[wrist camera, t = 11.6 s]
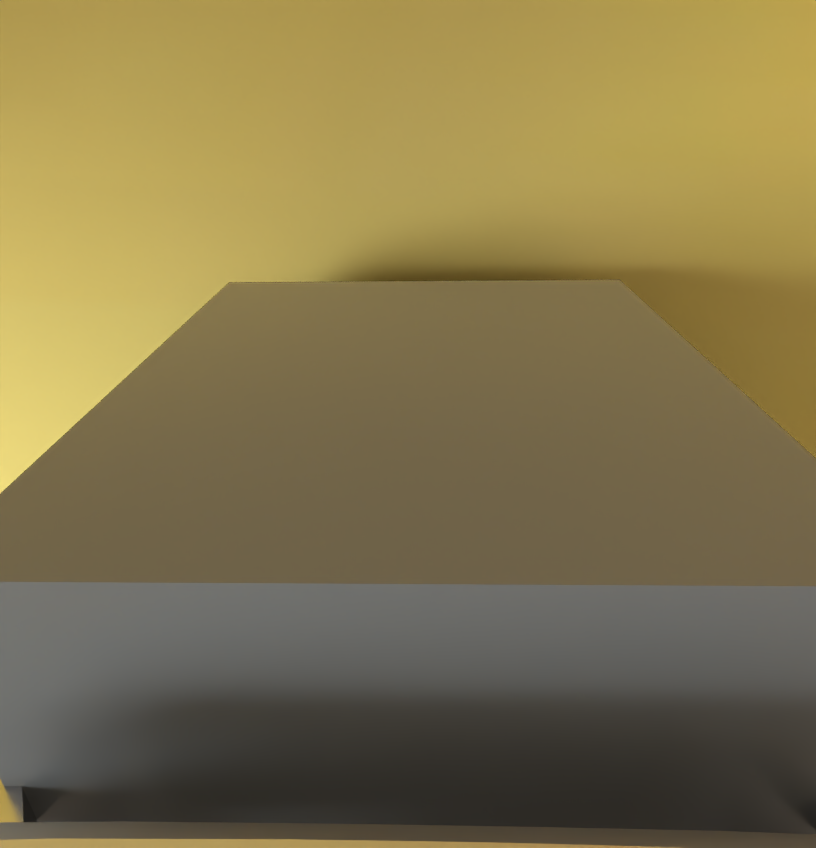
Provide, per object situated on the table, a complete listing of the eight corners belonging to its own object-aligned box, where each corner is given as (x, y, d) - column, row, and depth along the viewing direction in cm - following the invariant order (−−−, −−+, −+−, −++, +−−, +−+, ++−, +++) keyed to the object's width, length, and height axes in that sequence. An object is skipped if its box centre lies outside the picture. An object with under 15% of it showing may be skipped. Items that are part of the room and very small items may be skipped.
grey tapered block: (229, 282, 13) (-94, 581, 5) (619, 279, 12) (956, 587, 5) (271, 583, 16) (126, 1041, 8) (577, 585, 16) (725, 1057, 8)
